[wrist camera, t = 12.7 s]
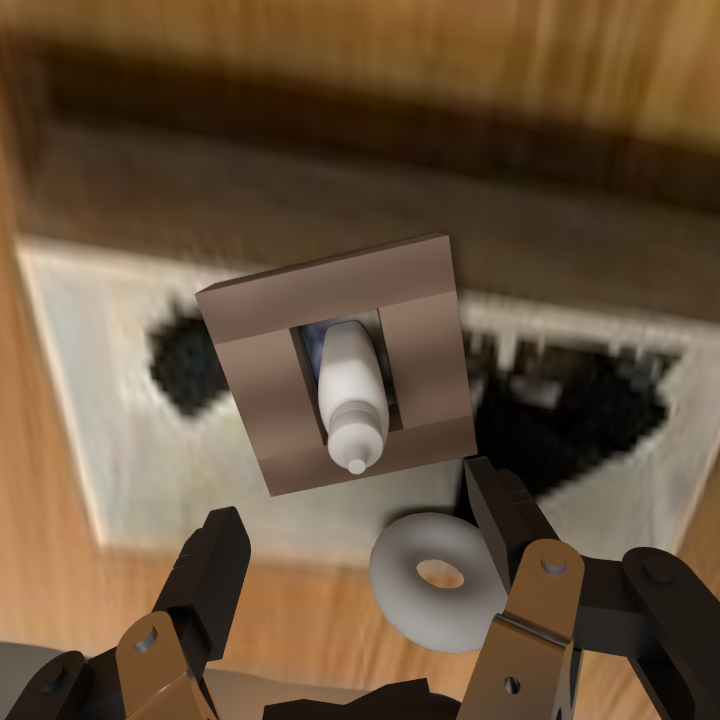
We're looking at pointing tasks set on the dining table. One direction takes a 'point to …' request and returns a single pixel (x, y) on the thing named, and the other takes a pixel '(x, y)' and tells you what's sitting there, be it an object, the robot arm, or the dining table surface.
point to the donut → (428, 602)
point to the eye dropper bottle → (352, 397)
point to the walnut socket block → (293, 369)
